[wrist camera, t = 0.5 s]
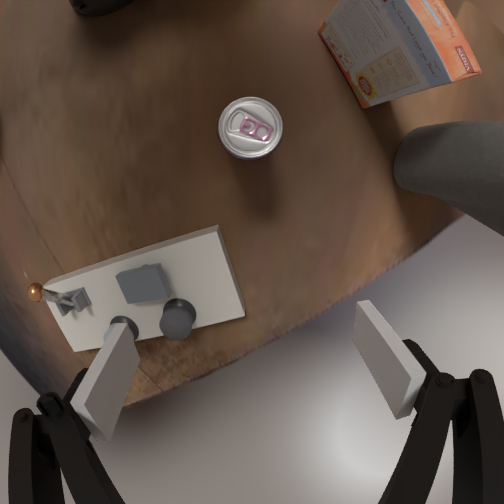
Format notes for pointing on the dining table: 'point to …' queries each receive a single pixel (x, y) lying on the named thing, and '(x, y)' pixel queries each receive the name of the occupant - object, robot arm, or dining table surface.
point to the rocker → (144, 284)
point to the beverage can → (250, 128)
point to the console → (150, 312)
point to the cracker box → (396, 47)
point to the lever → (48, 295)
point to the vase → (457, 167)
